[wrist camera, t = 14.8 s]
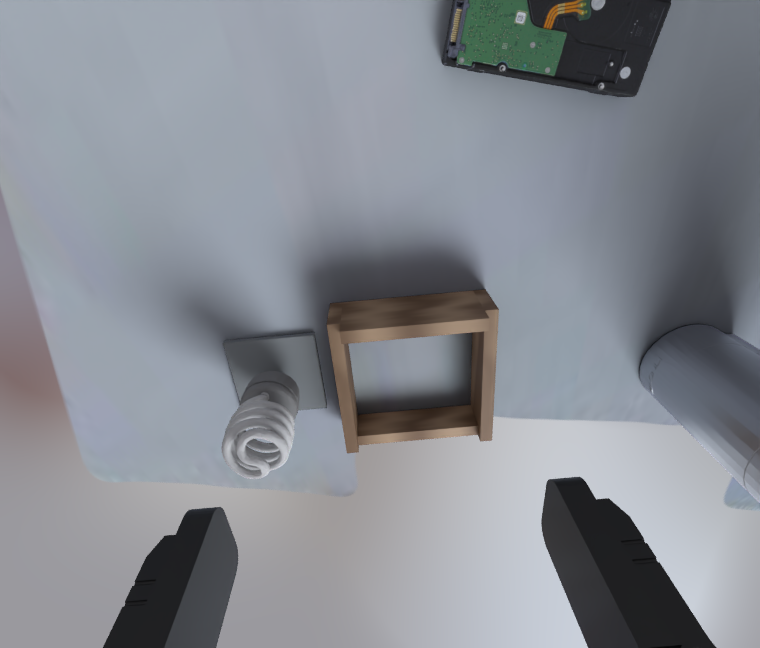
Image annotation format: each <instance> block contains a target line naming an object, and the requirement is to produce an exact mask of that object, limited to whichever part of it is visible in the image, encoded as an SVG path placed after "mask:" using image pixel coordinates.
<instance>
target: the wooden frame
mask: <svg viewBox="0 0 760 648" xmlns="http://www.w3.org/2000/svg"><path fill="white" fill-rule="evenodd" d="M498 314H499V309H498V307H497V306H496V305H495V303H494V302H493V300H492V299H491V297H490V296H489V294H488V293H487V291H486V290H485V289H484V290H473V291H462V292H451V293H440V294H429V295H417V296H406V297H395V298H384V299H373V300H362V301H351V302H340V303H330V308H329V314H328V320H327V330H328V336H329V343H330V349H331V355H332V362H333V368H334V374H335V380H336V387H337V393H338V399H339V406H340V412H341V418H342V425H343V431H344V437H345V443H346V450H347V453H354V452H359V445H367V444H378V443H389V442H401V441H412V440H422V439H423V440H424V439H434V438H446V437H458V436H468V435H478V436H479V439H480V441H491V440H492V428H493V410H494V391H495V372H496V353H497V333H498ZM471 332H472V362H471V405H462V406H451V407H439V408H428V409H417V410H405V411H394V412H383V413H372V414H360V415H358V412H357V405H356V397H355V390H354V383H353V375H352V368H351V361H350V353H349V346H348V344H349V343H360V342H371V341H382V340H393V339H404V338H416V337H427V336H438V335H449V334H460V333H471Z"/></svg>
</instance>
